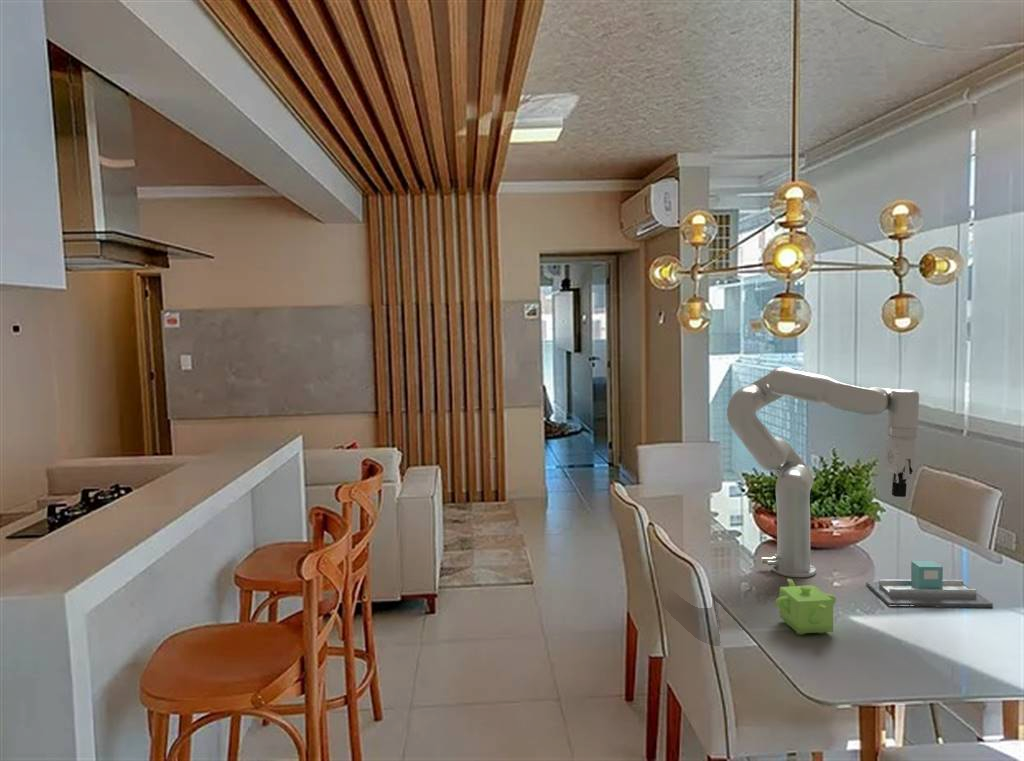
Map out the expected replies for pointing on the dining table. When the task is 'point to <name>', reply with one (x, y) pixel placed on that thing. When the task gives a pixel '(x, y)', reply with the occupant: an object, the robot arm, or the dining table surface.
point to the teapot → (806, 608)
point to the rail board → (928, 594)
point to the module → (926, 575)
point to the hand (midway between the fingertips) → (898, 495)
